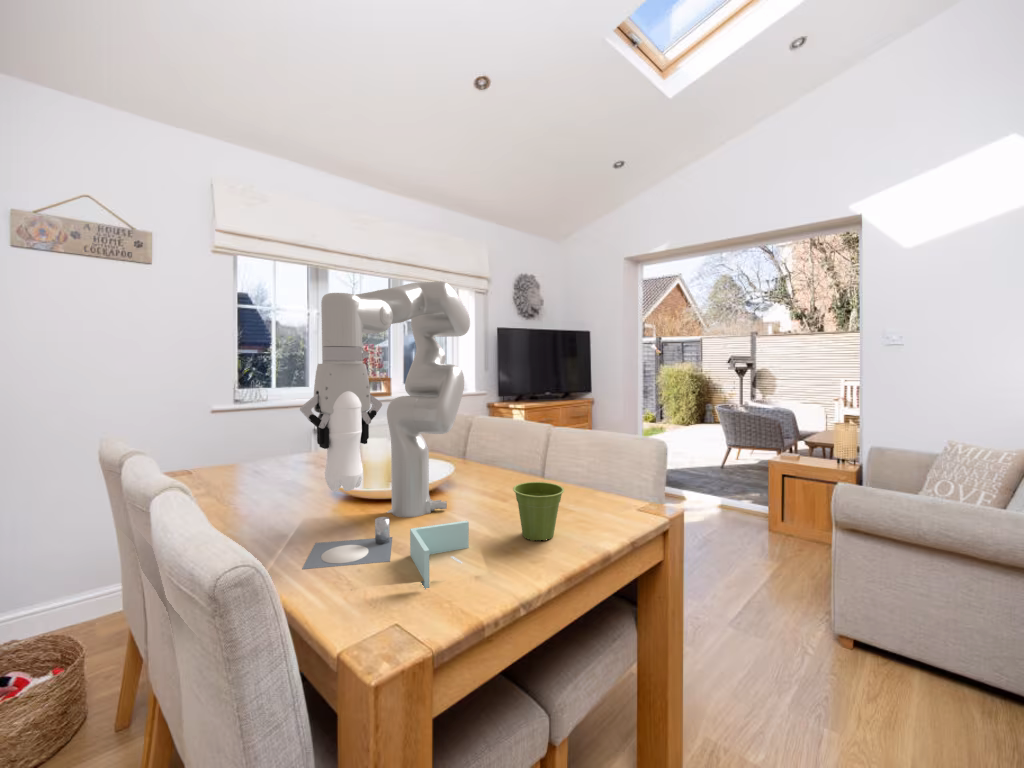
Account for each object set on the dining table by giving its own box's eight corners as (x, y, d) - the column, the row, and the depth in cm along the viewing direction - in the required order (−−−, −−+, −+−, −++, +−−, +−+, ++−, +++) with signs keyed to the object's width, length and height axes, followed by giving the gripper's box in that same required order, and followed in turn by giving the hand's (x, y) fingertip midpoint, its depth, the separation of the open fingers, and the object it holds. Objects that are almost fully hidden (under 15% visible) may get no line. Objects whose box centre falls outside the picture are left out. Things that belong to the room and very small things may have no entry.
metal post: (389, 538, 101) (389, 516, 101) (389, 543, 99) (389, 520, 98) (375, 539, 101) (375, 517, 101) (374, 545, 98) (374, 521, 98)
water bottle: (370, 486, 94) (369, 364, 93) (340, 495, 88) (338, 364, 87) (347, 481, 98) (346, 363, 97) (317, 489, 92) (315, 363, 90)
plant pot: (505, 541, 104) (505, 492, 104) (523, 524, 115) (523, 479, 115) (555, 549, 100) (556, 498, 99) (569, 531, 111) (569, 484, 110)
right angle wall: (424, 592, 82) (424, 550, 82) (410, 565, 93) (410, 528, 93) (487, 579, 87) (487, 540, 87) (467, 555, 98) (467, 520, 97)
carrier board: (392, 543, 103) (392, 536, 103) (390, 568, 90) (390, 560, 90) (315, 549, 99) (315, 542, 99) (302, 576, 86) (301, 568, 86)
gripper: (375, 357, 100) (375, 438, 101) (290, 356, 88) (291, 448, 89) (391, 357, 95) (392, 442, 95) (303, 355, 83) (305, 453, 84)
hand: (343, 444), depth 92 cm, fingers closed on water bottle, 7 cm apart
